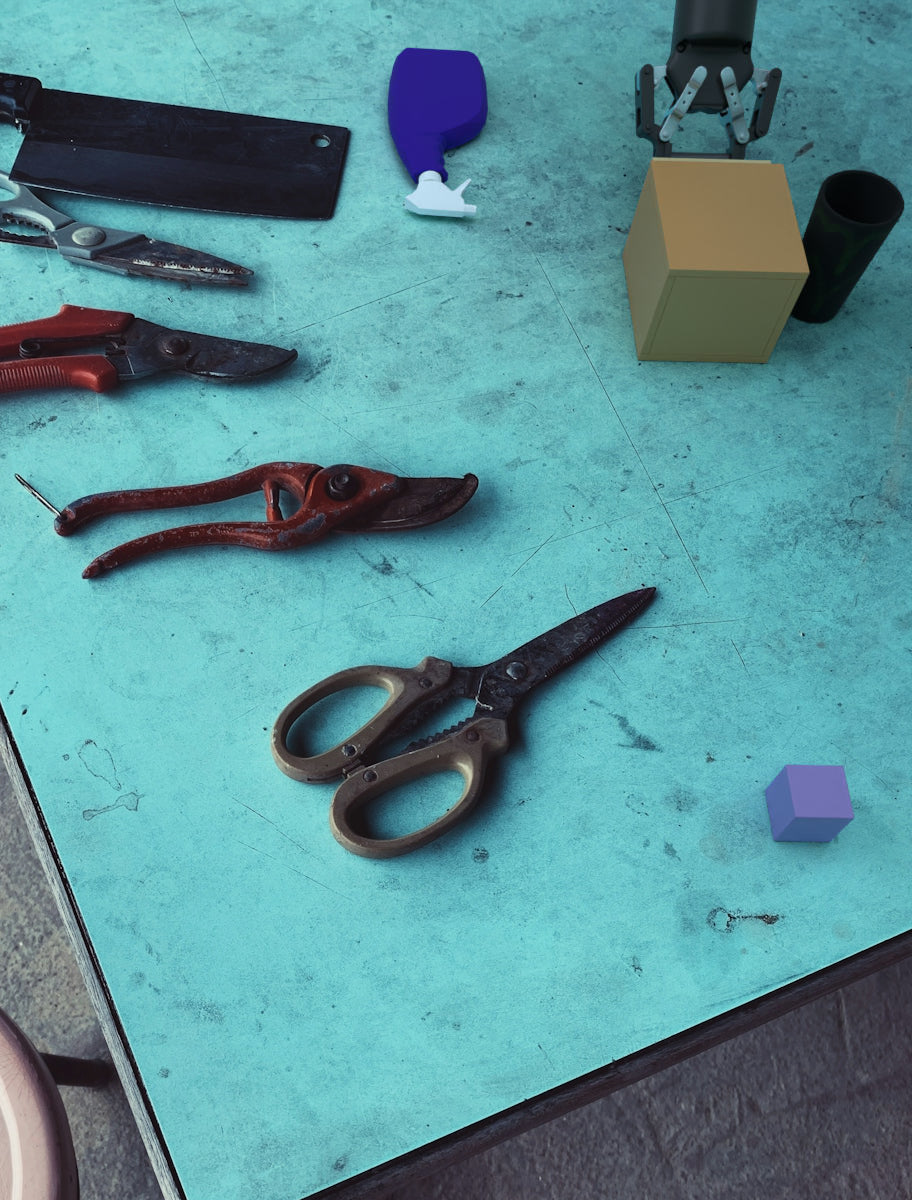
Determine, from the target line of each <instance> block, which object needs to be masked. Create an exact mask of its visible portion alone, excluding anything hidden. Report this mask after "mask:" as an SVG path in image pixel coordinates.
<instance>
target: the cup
mask: <svg viewBox="0 0 912 1200" xmlns="http://www.w3.org/2000/svg"><path fill="white" fill-rule="evenodd" d="M904 211H905V200H904V197H903V194H902V193H901V191H900V190H899V188H898V187H897V186H896V185H895V184H894V183H893V182H892V181H890V180H889V179H887V178H885V177H883V176H882V175H879V174H877V173H874V172H871V171H867V170H862V169H845V170H844V169H843V170H841V171H837V172H834V173H832V174H830V175H829V176H827V177H826V178H825V179H824V180H823V181H822V183H821V185H820V187H819V190H818V193H817V196H816V199H815V201H814V204H813V208H812V210H811V214H810V216H809V219H808V222H807V225H806V228H805V230H804V234H803V237H802V238H801V239H802V243H803V247H804V251H805V255H806V259H807V263H808V268H809V272H810V273H809V275H808V277H807V279H806V282H805V284H804V286H803V288H802V290H801V292H800V294H799V296H798V298H797V301H796V303H795V305H794V307H793V309H792V311H791V313H790V316H791V317H793V318H795V319H796V320H799V321H801V322H803V323H807V324H815V325H817V324H824V323H827V322H829V321H832V320H833V319H834V318H835V317H836V316H837V314H838V313H839V312H840V310H841V308H842V307H843V305H844V304H845V302H846V301H847V299H848V297H849V296H850V295H851V293H852V291H853V290H854V289H855V288H856V286H857V284H858V282H859V281H860V279H861V278H862V277H863V275H864V273H865V272H866V271H867V268H868V267H869V266H870V264H871V263H872V261H873V260H874V258H875V256H876V255H877V254H878V252H879V251H880V249H881V247H882V246H883V244H884V243H885V241H886V240H887V238H888V237H889V236H890V234H891V232H892V231H893V229H894V228H895V226H896V225H897V223H898V221H899V220H900V219H901V216H903V213H904Z"/></svg>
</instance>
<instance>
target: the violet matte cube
mask: <svg viewBox="0 0 912 1200" xmlns="http://www.w3.org/2000/svg"><path fill="white" fill-rule="evenodd" d="M764 793H765V799H766V804H767V811H768V815H769V822H770V826H771V832H772V833H771V834H772V839H773V841H774V842H801V843H802V842H804V843H806V842H810V843H811V842H812V843H813V842H814V843H830V842H832V841H833V840H834V839H835V838H836V837H837V836H838V835H839V834H840V833H841V832H842V831H843V830H844V829H845V828H846V827H848V825H849V824H850V823H851V822H852V821H854V819H855V815H854V814H855V813H854V810H853V805H852V799H851V795H850V789H849V785H848V781H847V775H846V772H845V767H844V765H837V764H836V765H834V764H832V765H830V764H828V765H827V764H785V765H784V766H783V767H782V769H781V770H780V771H779V772H778V774H777V775H776V776H775V777H774V779H773V780H772V781H771V782H770V783H769V785H768V786H767V787H766V788H765V789H764Z"/></svg>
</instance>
